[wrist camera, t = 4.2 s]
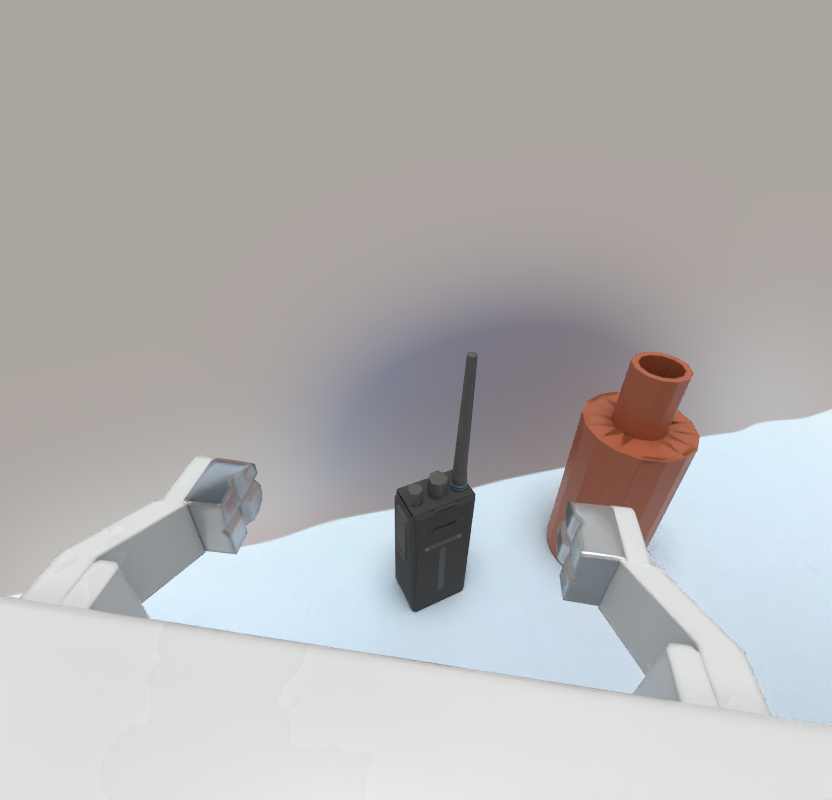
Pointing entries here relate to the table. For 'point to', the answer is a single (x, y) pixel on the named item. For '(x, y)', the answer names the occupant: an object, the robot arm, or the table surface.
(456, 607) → the table surface
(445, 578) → the walkie-talkie
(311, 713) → the robot arm
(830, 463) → the table surface
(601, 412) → the bottle
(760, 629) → the table surface
